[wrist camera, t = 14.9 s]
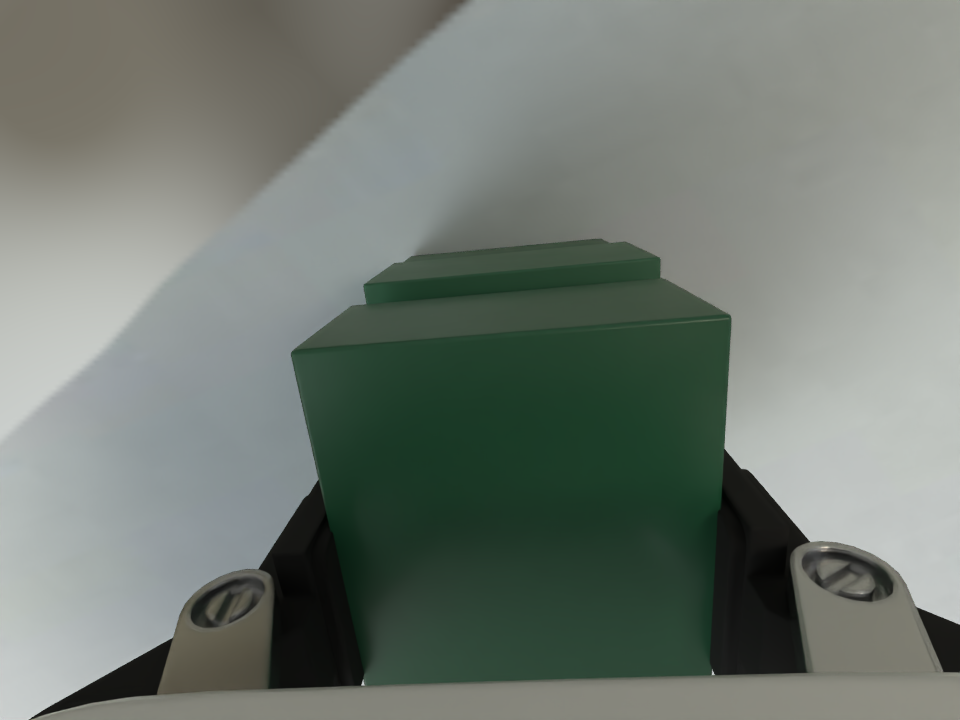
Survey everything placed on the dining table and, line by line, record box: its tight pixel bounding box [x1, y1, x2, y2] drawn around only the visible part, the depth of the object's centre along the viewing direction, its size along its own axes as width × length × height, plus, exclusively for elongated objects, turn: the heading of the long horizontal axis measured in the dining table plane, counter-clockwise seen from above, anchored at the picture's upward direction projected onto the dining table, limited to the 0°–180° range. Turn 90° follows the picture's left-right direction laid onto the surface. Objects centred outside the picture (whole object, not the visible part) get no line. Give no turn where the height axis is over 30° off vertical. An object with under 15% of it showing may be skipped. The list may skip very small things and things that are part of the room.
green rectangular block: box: [291, 278, 731, 686], centre depth 10 cm, size 9×6×3 cm, turn 6°
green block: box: [363, 239, 661, 304], centre depth 15 cm, size 9×6×6 cm, turn 6°
